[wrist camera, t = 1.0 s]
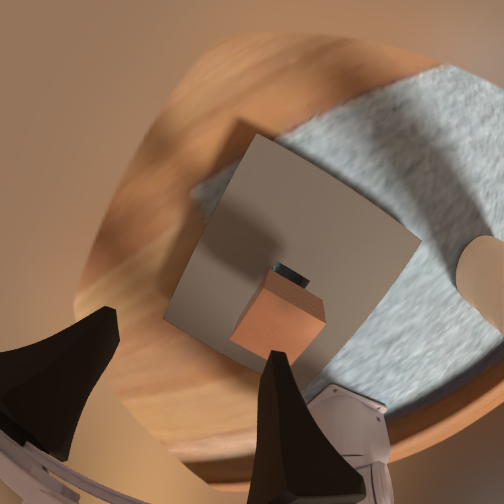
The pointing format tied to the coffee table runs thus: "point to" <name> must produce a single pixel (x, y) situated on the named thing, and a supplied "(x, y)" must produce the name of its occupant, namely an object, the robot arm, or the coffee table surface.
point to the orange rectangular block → (279, 318)
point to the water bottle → (483, 278)
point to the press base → (289, 255)
